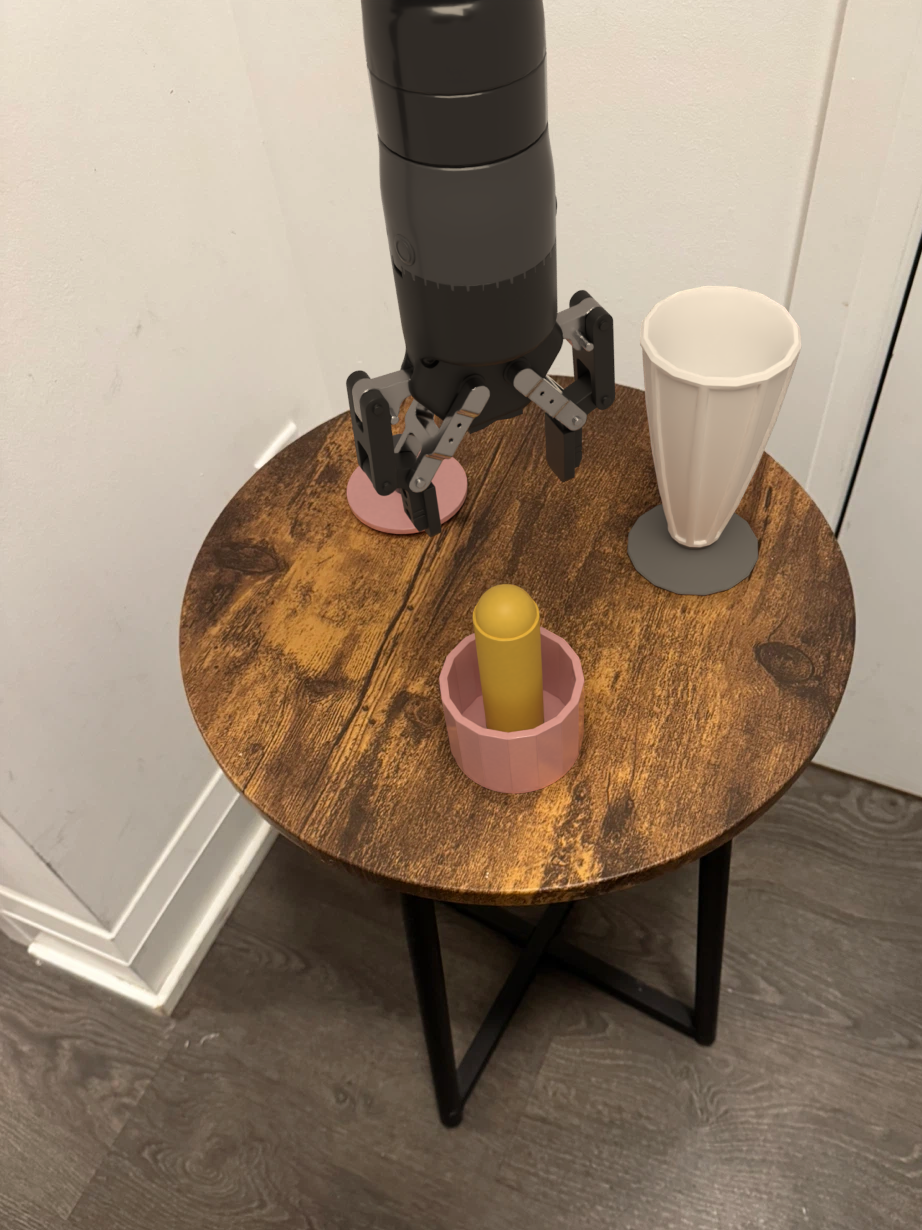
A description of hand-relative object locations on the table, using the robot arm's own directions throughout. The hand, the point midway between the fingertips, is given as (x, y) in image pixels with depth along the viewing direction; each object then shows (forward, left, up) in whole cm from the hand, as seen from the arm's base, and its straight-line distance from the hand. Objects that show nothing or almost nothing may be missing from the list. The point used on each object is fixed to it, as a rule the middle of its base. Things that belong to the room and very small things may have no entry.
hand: (495, 499), depth 59 cm
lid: (-6, +28, -24) cm, 38 cm away
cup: (+18, +17, -25) cm, 35 cm away
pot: (0, 0, -25) cm, 25 cm away
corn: (0, 0, -24) cm, 24 cm away
